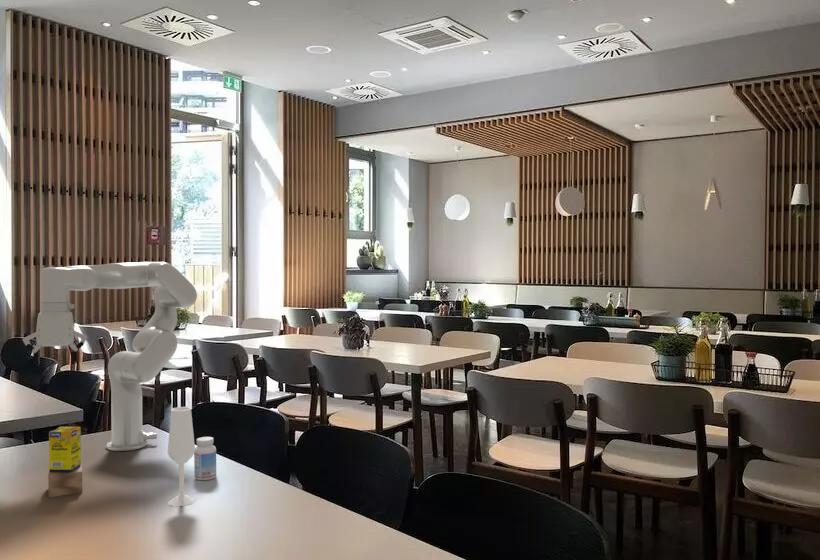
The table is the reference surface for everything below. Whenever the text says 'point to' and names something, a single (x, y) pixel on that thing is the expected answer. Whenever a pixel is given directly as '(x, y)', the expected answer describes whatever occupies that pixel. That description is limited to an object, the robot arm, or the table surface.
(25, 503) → the table surface
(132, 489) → the table surface
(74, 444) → the supplement box
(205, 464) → the pill bottle
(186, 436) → the champagne flute
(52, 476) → the tan wooden block
